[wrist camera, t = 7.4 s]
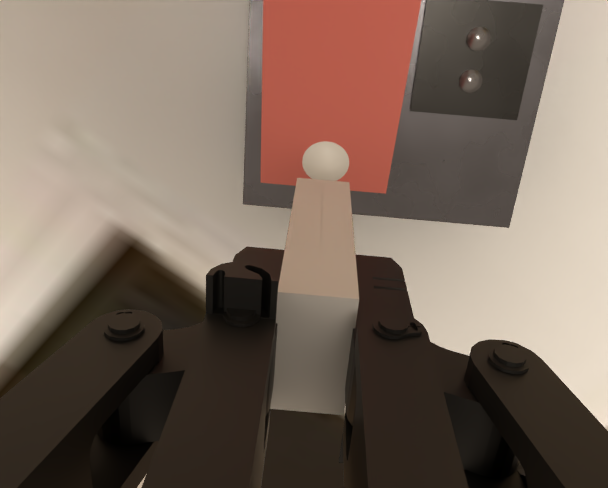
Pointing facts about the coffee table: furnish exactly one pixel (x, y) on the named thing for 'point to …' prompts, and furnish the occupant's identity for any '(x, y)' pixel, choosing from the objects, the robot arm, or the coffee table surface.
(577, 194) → the coffee table surface
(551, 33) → the power strip
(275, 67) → the plate
